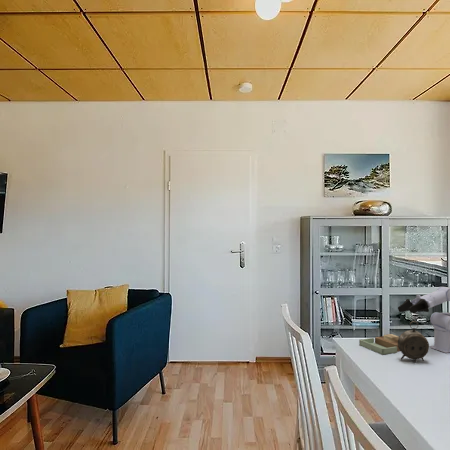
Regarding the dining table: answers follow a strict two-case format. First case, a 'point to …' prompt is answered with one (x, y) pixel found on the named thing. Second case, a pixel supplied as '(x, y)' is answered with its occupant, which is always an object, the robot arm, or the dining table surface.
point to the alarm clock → (413, 344)
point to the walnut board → (386, 343)
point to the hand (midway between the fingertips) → (404, 310)
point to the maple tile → (391, 337)
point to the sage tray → (376, 347)
